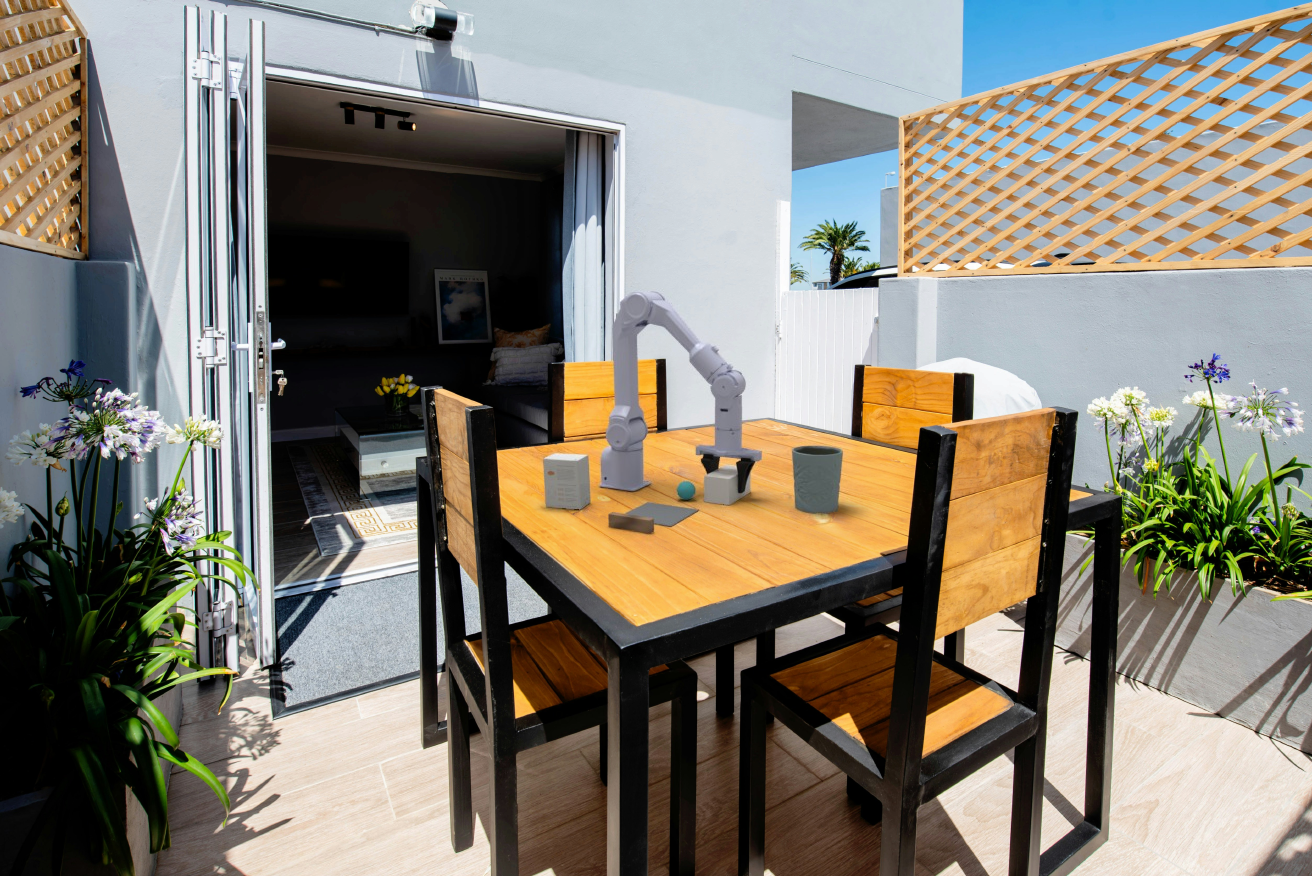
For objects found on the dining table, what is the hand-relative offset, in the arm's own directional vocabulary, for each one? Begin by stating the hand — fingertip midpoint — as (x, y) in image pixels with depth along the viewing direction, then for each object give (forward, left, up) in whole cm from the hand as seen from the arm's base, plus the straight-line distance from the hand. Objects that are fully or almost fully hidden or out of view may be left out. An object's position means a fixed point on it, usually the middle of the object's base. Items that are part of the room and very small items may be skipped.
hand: (727, 490), depth 153 cm
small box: (-27, -21, -2) cm, 34 cm away
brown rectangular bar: (-7, -28, -1) cm, 29 cm away
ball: (-7, -6, +1) cm, 9 cm away
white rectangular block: (0, 0, -1) cm, 1 cm away
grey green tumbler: (+19, +1, -2) cm, 19 cm away
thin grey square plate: (-7, -18, -1) cm, 19 cm away
